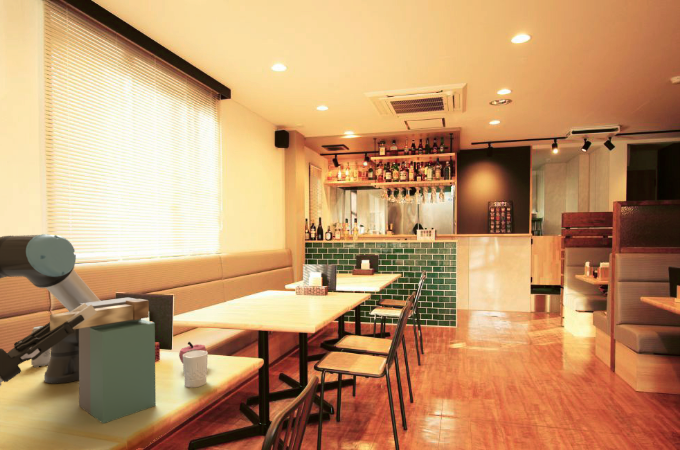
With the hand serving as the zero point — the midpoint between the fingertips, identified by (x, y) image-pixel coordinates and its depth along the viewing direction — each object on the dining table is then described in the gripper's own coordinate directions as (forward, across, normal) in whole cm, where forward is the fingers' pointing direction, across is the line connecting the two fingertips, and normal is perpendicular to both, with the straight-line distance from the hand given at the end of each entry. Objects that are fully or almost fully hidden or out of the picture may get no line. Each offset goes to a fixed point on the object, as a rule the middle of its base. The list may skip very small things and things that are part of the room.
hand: (90, 307), depth 109 cm
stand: (-8, -4, -30) cm, 32 cm away
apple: (+19, -17, -46) cm, 53 cm away
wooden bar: (0, 0, -5) cm, 5 cm away
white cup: (+12, -2, -42) cm, 44 cm away
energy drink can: (-10, -71, -29) cm, 78 cm away
